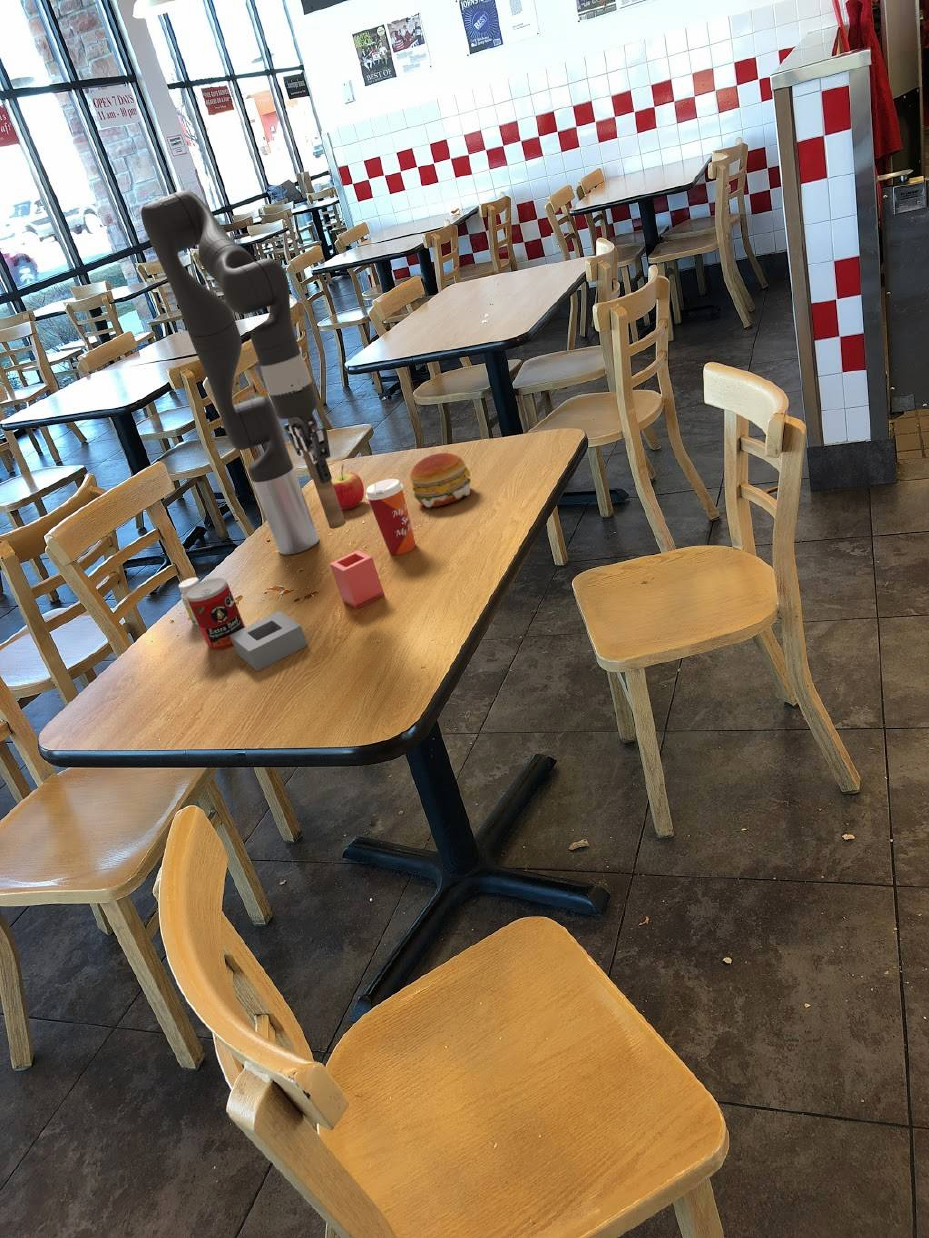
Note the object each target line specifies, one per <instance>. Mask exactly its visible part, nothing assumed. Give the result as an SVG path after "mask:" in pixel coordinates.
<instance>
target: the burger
mask: <svg viewBox="0 0 929 1238" xmlns="http://www.w3.org/2000/svg"><path fill="white" fill-rule="evenodd" d="M409 477H410V482H411V483H410V486H411V489H412V492H414V493H413V494H412V495H413V497H414V498H415V500H417V502H419V504H421V505H422V506H424V507H426V508H431V507H439V506H444V505H448V504H452V503H454V502H456V501H458V500H460V499H463V498H464V497H465V496H469V495H470V494H471V492H470V491H471V478H469V477H471V473H470V470H469V468H468V467H467V466H466V463H465V461H464V460H463V459H462V458H461V456H459V455H456V454H454V453H450V452H449V453H448V452H441V453H439V452H438V453H435V454H434V453H433V454H432V455H429V456H426V457H424V458H423V459H421V460H420V461H418V462H417V463H416V464H415V465H414V466H413V468H412V469H411V471H410V474H409Z"/></svg>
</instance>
